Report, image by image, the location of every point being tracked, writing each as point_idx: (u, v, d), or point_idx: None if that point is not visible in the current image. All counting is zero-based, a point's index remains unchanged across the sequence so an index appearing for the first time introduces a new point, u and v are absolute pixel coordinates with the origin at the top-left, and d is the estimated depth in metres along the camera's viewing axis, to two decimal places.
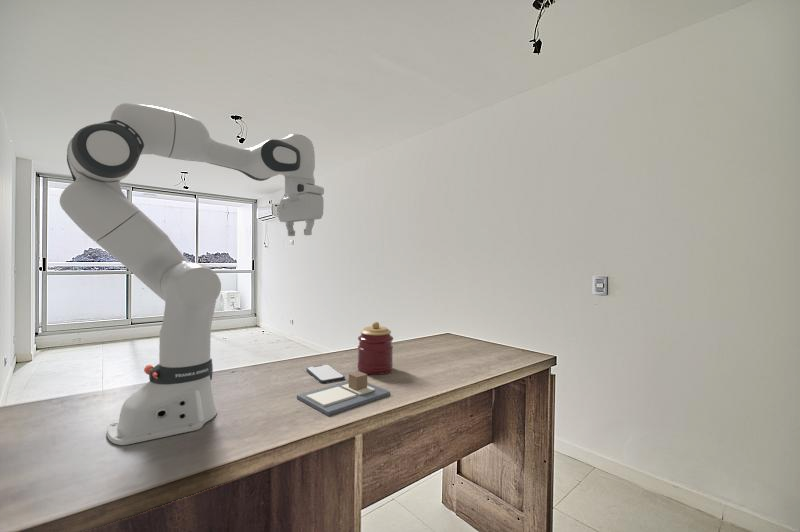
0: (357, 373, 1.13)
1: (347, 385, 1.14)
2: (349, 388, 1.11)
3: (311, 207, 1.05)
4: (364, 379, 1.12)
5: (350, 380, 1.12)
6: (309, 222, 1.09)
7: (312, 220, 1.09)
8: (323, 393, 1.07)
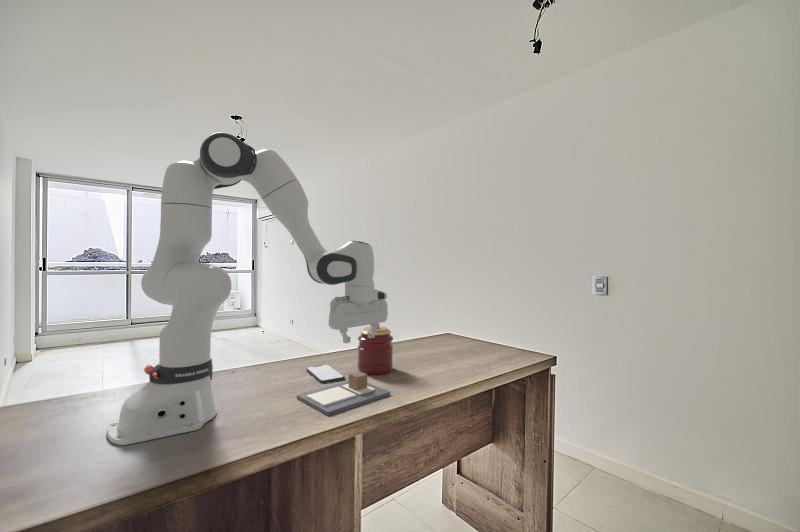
0: (357, 373, 1.13)
1: (347, 385, 1.14)
2: (349, 388, 1.11)
3: (387, 312, 1.18)
4: (364, 379, 1.12)
5: (350, 380, 1.12)
6: None
7: None
8: (323, 393, 1.07)
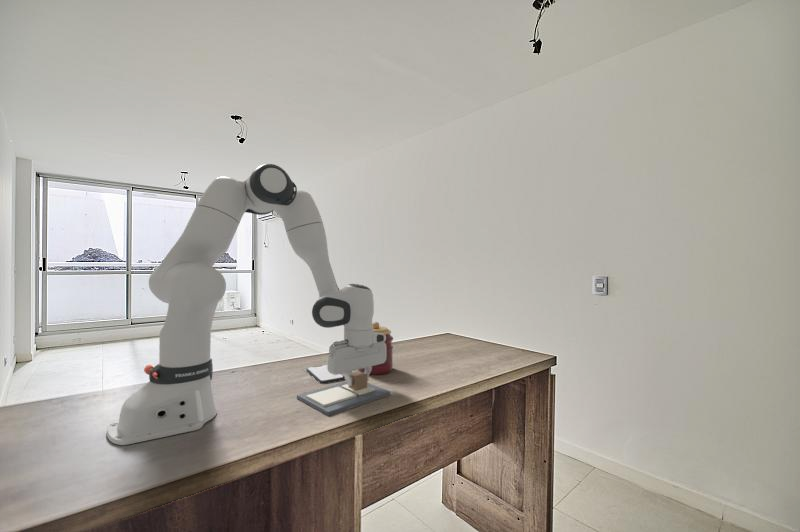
0: (357, 373, 1.13)
1: (347, 385, 1.14)
2: (349, 388, 1.11)
3: (386, 354, 1.18)
4: (364, 379, 1.12)
5: None
6: None
7: None
8: (323, 393, 1.07)
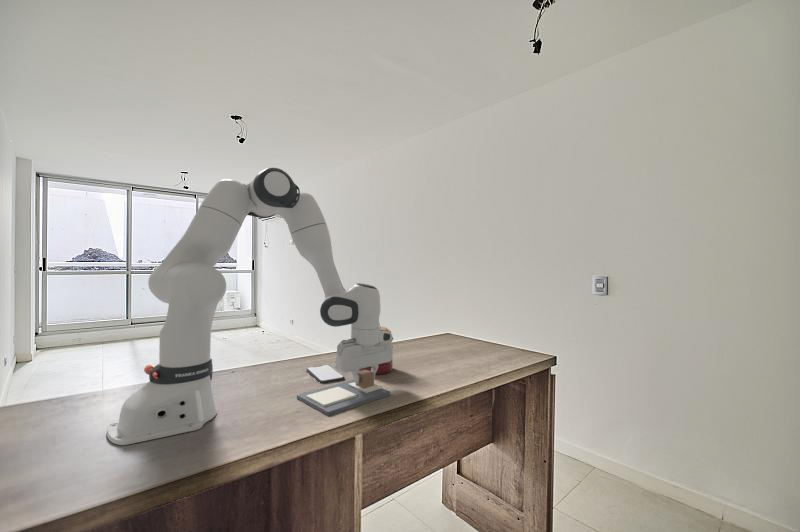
0: (364, 371, 1.15)
1: (354, 383, 1.16)
2: (356, 386, 1.13)
3: (392, 352, 1.20)
4: (371, 377, 1.13)
5: None
6: None
7: None
8: (323, 393, 1.07)
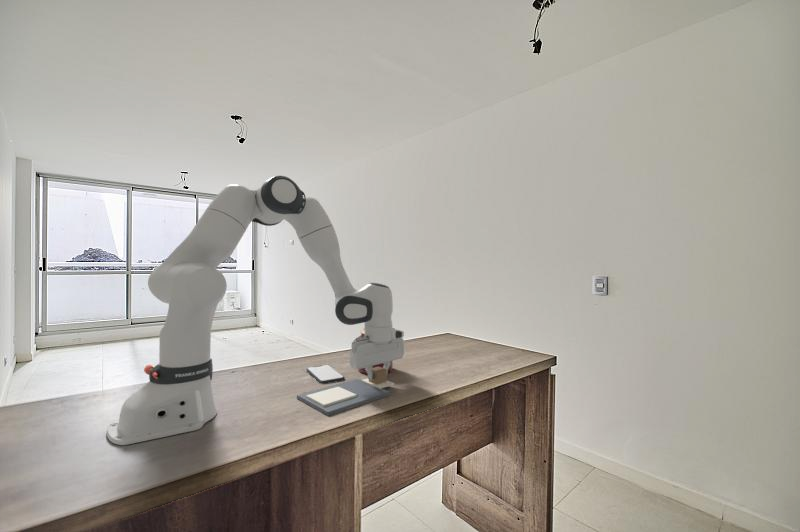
0: (377, 368, 1.19)
1: (367, 379, 1.19)
2: (369, 382, 1.17)
3: (403, 349, 1.23)
4: (384, 374, 1.17)
5: None
6: None
7: None
8: (323, 393, 1.07)
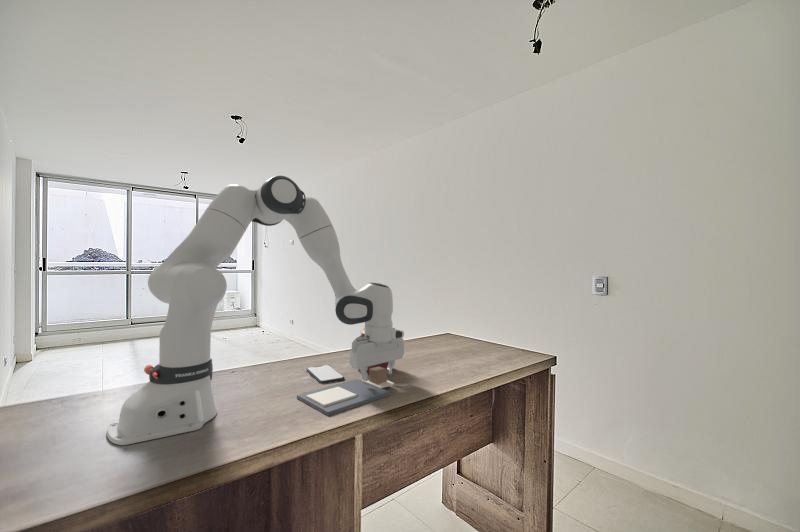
0: (377, 368, 1.19)
1: None
2: (370, 382, 1.17)
3: (403, 349, 1.23)
4: (384, 373, 1.17)
5: (370, 374, 1.17)
6: None
7: None
8: (323, 393, 1.07)
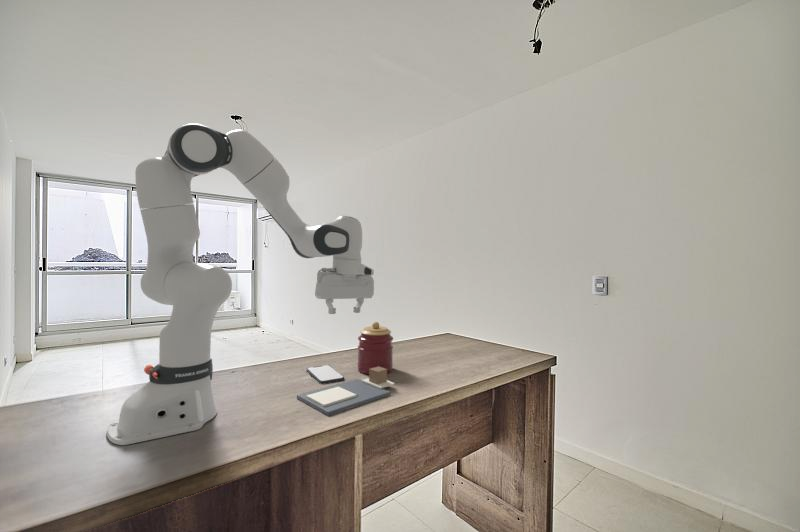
0: (377, 368, 1.19)
1: (367, 379, 1.20)
2: (370, 382, 1.17)
3: (373, 289, 1.21)
4: (384, 373, 1.17)
5: (370, 374, 1.17)
6: None
7: None
8: (323, 393, 1.07)
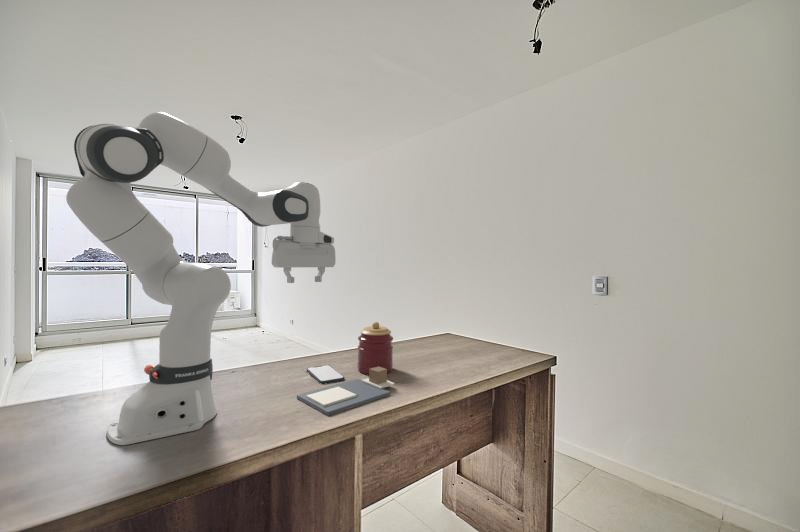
0: (377, 368, 1.19)
1: (367, 379, 1.20)
2: (370, 382, 1.17)
3: (335, 258, 1.19)
4: (384, 373, 1.17)
5: (370, 374, 1.17)
6: None
7: None
8: (323, 393, 1.07)
